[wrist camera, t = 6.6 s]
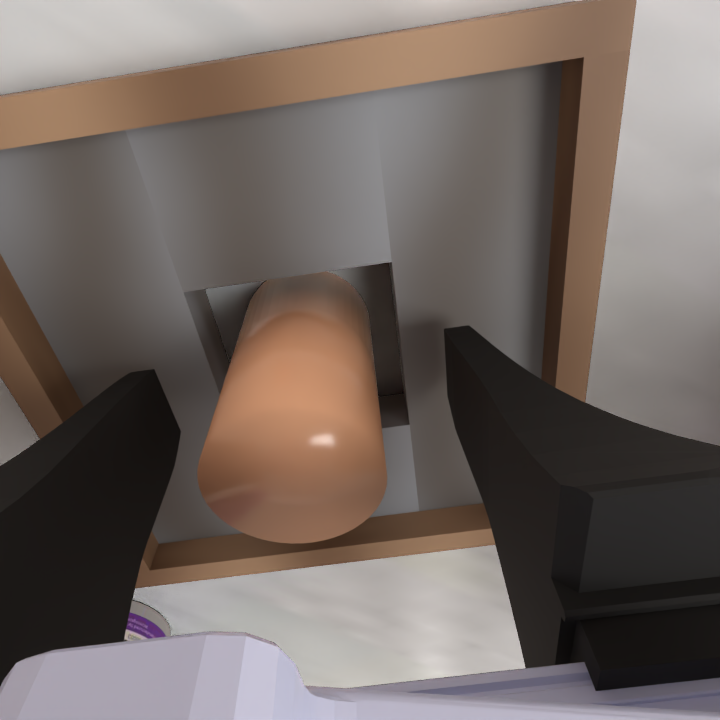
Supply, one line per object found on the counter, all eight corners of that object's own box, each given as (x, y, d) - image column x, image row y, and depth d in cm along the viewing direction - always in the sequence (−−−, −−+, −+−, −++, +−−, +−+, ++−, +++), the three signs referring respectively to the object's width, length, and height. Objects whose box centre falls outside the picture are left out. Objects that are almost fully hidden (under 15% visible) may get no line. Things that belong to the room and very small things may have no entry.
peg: (368, 265, 14) (387, 403, 9) (370, 373, 16) (387, 538, 11) (236, 271, 14) (178, 413, 9) (255, 379, 16) (216, 548, 11)
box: (577, 1, 11) (637, -6, 9) (541, 477, 18) (567, 535, 16) (-67, 106, 11) (-160, 123, 9) (156, 525, 19) (134, 588, 17)
